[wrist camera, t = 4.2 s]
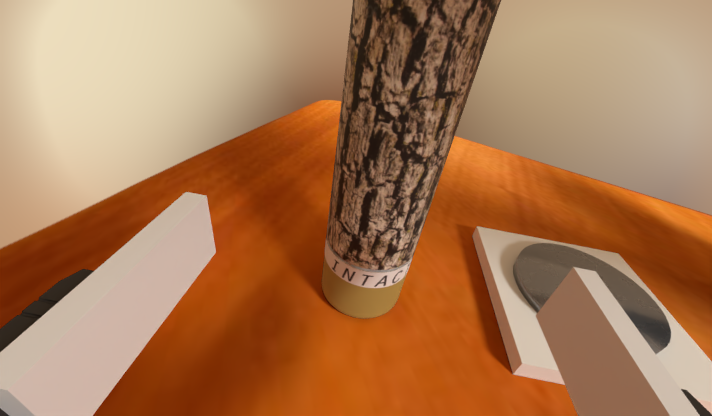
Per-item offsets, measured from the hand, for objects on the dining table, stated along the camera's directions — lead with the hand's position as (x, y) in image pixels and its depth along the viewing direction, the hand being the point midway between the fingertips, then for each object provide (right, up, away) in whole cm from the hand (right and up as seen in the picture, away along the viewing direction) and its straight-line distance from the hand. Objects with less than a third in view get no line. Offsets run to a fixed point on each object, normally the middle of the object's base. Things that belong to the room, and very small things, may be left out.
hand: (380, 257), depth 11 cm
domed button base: (+19, -7, +17) cm, 27 cm away
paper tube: (-1, -5, +15) cm, 16 cm away
